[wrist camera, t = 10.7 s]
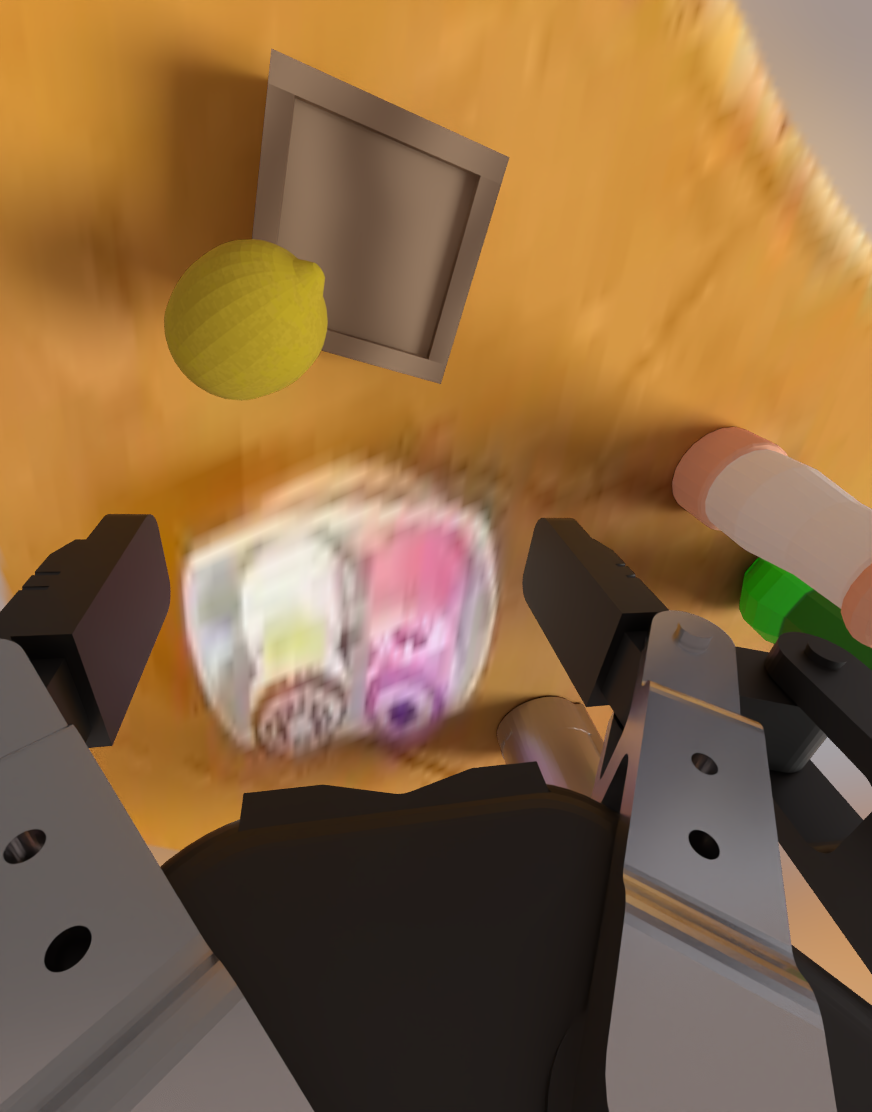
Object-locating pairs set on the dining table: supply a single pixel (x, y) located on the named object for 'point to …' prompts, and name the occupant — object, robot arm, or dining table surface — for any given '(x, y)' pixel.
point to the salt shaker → (783, 517)
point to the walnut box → (374, 214)
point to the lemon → (246, 319)
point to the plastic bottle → (793, 609)
